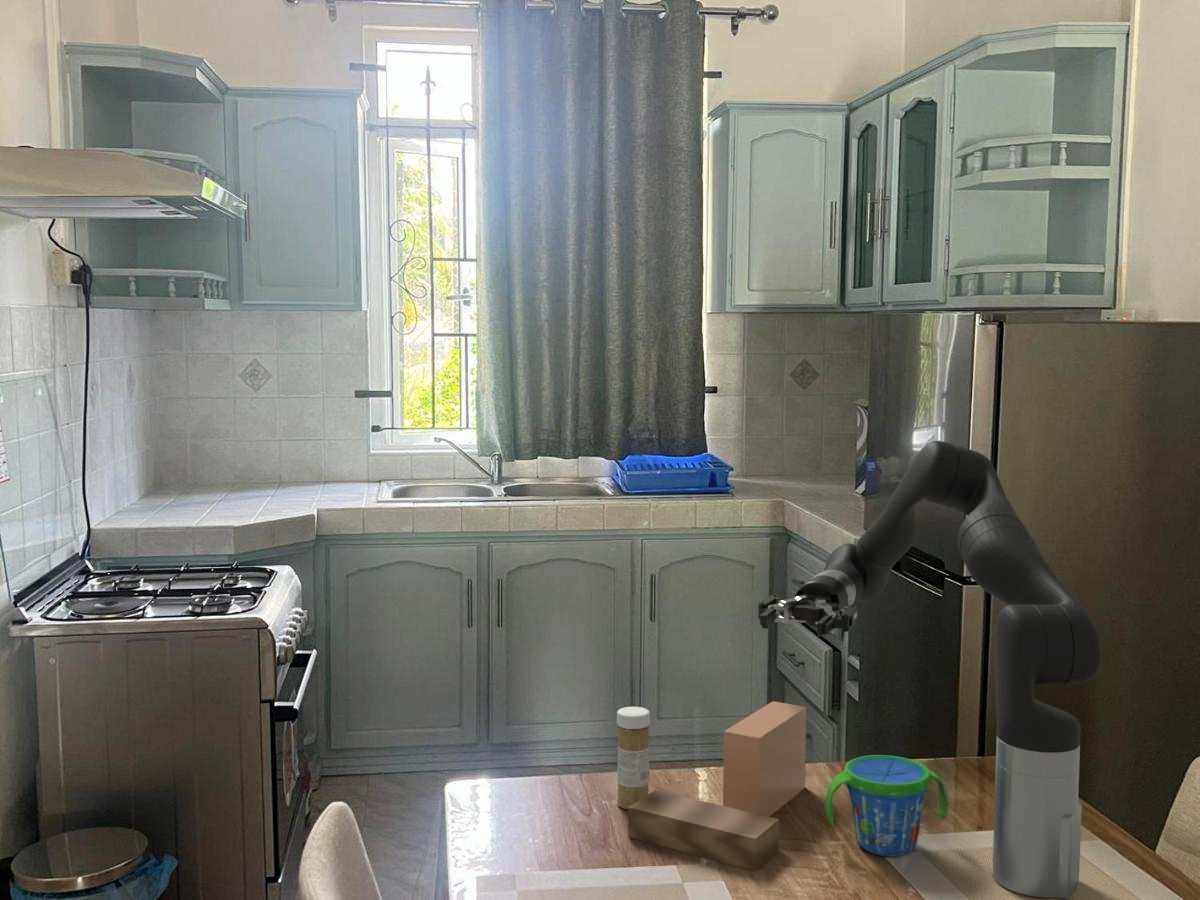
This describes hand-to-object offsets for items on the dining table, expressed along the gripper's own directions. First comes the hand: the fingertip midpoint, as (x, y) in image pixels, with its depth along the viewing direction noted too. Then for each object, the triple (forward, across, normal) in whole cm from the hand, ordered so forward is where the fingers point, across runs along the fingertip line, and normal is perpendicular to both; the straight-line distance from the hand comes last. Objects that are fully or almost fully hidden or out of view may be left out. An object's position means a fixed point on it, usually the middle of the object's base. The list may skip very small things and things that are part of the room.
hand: (791, 626), depth 168 cm
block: (+13, +1, +22) cm, 25 cm away
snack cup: (+19, +20, +21) cm, 34 cm away
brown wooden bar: (+30, -1, +20) cm, 36 cm away
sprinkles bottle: (+23, -15, +22) cm, 35 cm away
